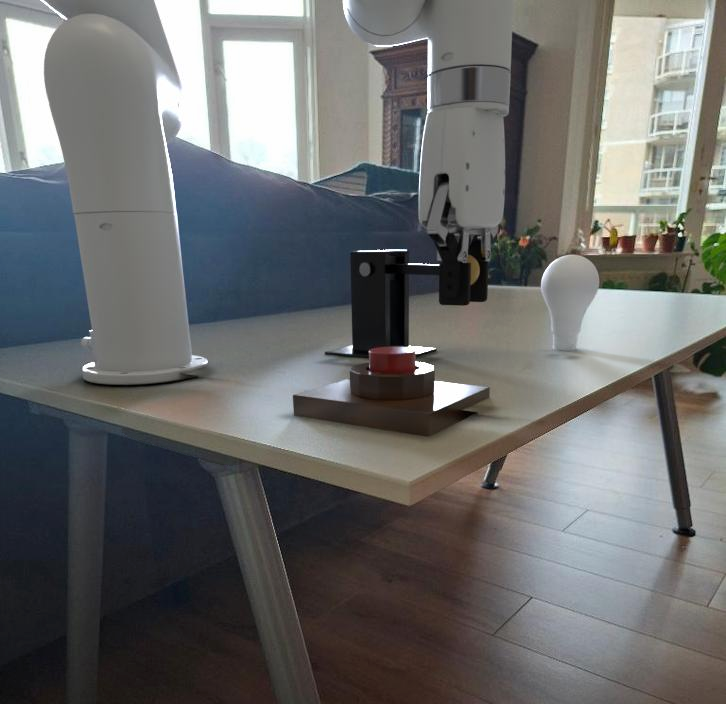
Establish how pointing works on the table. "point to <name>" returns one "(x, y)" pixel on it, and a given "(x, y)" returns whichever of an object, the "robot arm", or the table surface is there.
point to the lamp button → (392, 359)
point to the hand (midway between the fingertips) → (463, 301)
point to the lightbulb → (568, 297)
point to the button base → (391, 400)
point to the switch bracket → (378, 304)
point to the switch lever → (428, 268)
